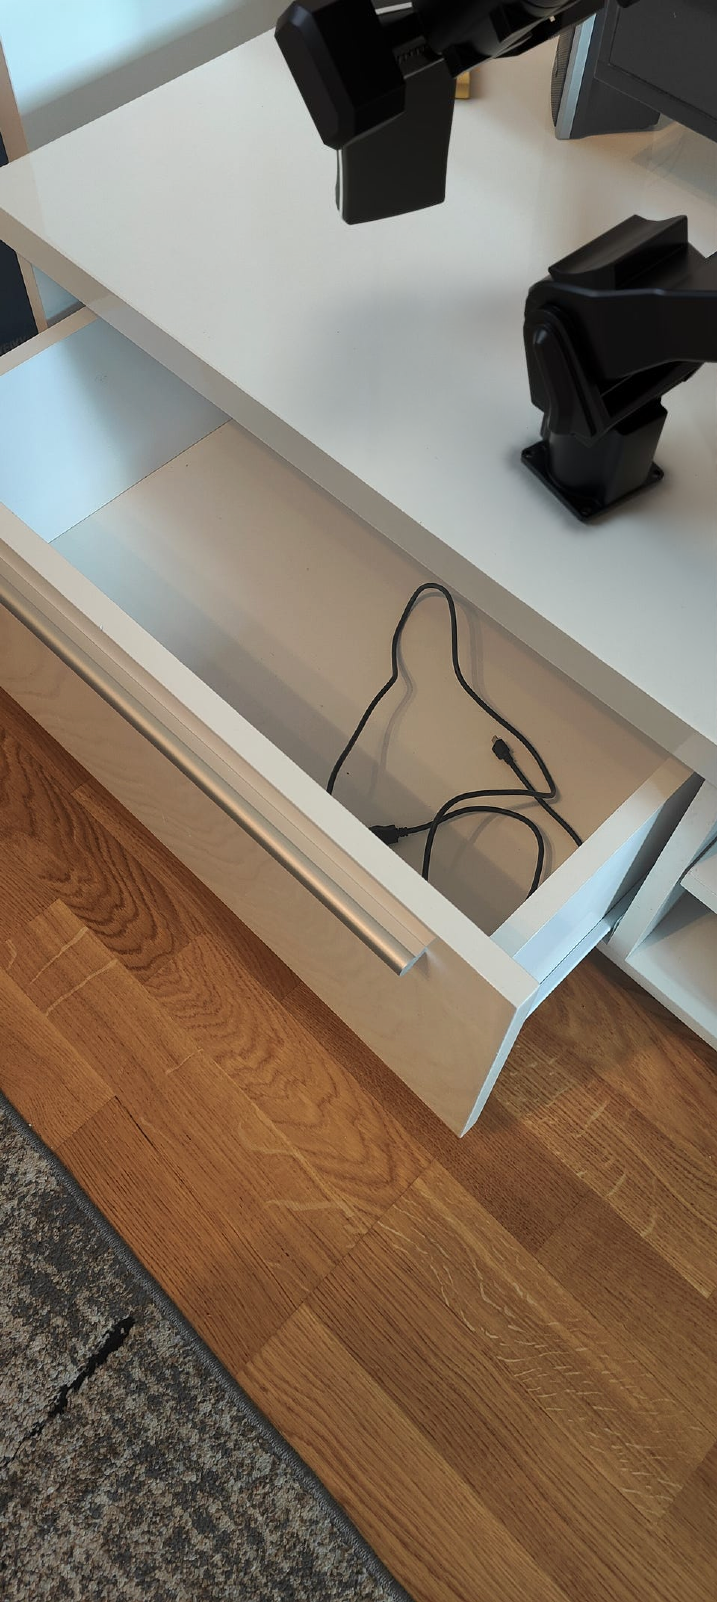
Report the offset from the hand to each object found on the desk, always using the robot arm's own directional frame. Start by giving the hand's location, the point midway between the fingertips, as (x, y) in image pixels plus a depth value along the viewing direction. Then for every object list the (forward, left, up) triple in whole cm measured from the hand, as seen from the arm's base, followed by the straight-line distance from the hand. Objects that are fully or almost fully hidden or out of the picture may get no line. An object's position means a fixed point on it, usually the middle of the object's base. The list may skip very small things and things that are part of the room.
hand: (371, 80), depth 64 cm
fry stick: (+18, -21, -14) cm, 31 cm away
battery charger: (-1, 0, -7) cm, 7 cm away
